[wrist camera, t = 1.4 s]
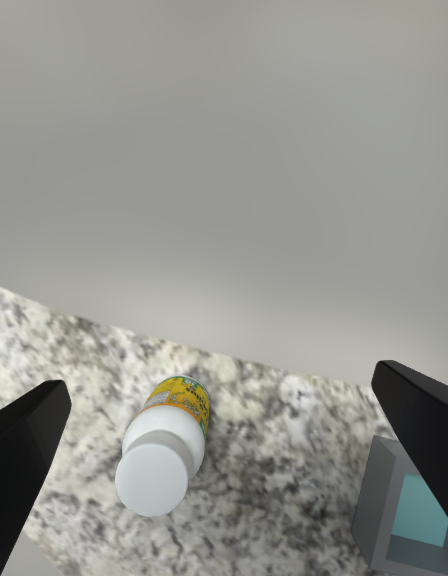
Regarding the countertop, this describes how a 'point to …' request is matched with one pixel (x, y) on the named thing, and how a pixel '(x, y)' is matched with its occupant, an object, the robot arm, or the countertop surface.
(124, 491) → the supplement bottle
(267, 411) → the countertop surface
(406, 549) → the grey square tray
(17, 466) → the robot arm
